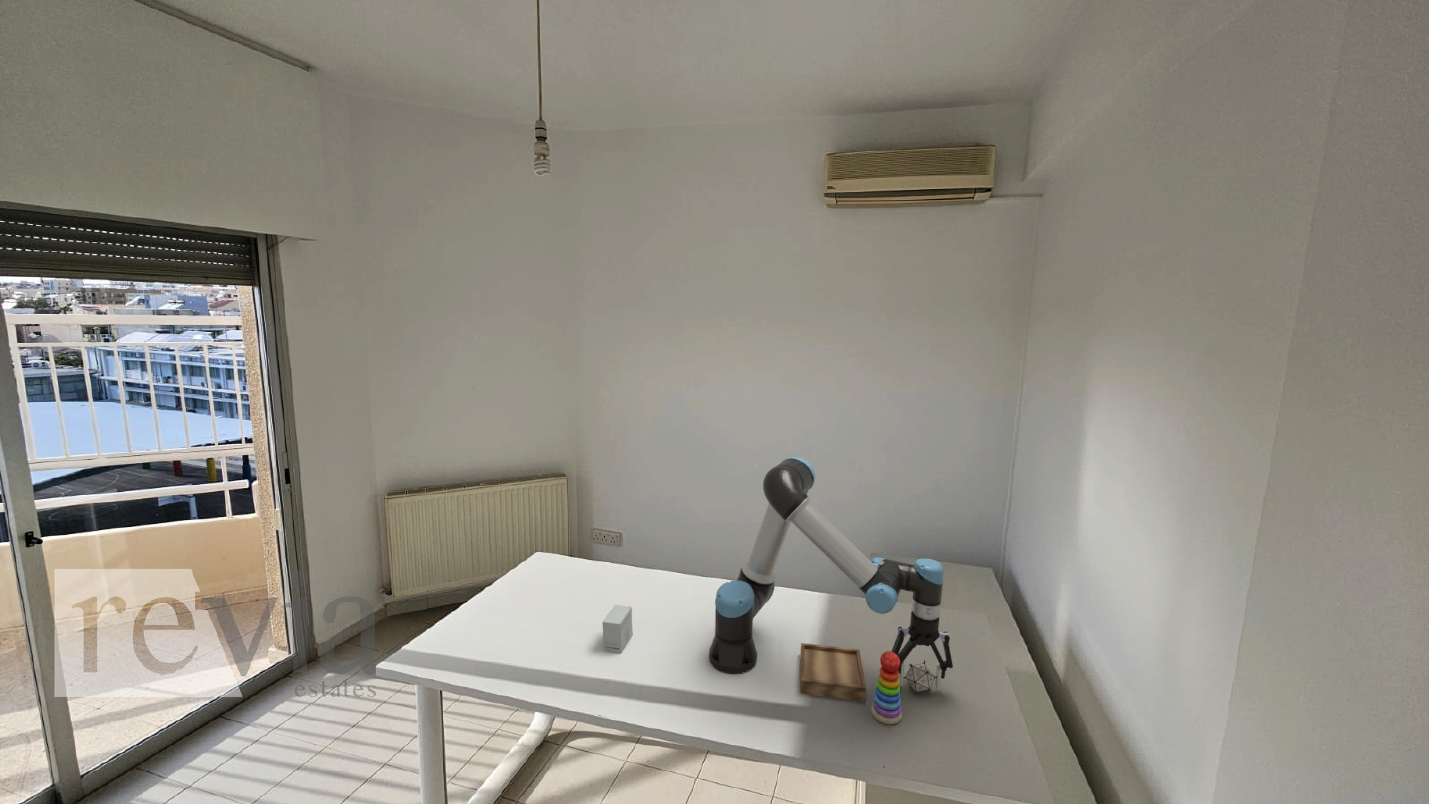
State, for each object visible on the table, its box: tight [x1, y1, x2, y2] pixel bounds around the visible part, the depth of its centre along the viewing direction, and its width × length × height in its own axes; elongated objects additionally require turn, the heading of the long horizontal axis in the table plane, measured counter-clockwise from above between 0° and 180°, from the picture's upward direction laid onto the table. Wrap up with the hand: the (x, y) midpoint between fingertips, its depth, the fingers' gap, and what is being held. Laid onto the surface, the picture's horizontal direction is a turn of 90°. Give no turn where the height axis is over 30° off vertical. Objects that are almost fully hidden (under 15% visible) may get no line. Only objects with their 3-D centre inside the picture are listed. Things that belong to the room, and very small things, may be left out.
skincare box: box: [602, 604, 634, 655], centre depth 175 cm, size 10×6×10 cm, turn 168°
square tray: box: [799, 642, 867, 703], centre depth 161 cm, size 18×18×4 cm
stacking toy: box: [870, 650, 903, 725], centre depth 145 cm, size 8×8×19 cm
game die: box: [903, 660, 937, 696], centre depth 156 cm, size 9×8×10 cm
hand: (918, 684), depth 157 cm, fingers closed on game die, 9 cm apart
